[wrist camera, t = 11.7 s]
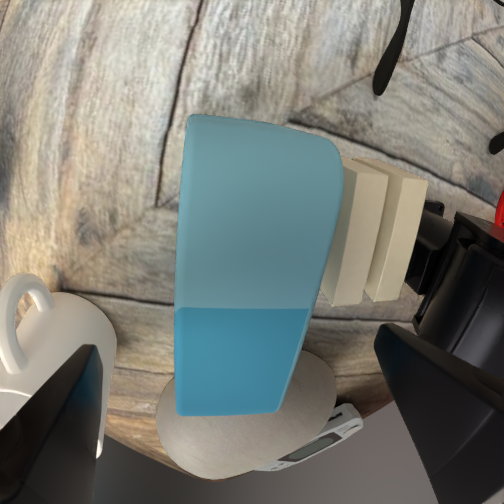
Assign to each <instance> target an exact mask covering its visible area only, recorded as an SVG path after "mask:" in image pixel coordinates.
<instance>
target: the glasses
mask: <svg viewBox="0 0 504 504" xmlns="http://www.w3.org/2000/svg"><path fill="white" fill-rule="evenodd" d="M414 1H415V0H400V2H401V16H400V21H399V24H398V27H397V29H396V31H395V33H394V35H393V37H392V39H391V41H390V43H389V45H388V47H387V49H386V51H385V52H384V54H383V56H382V58H381V60H380V62H379V64H378V66H377V68H376V71H375V74H374V79H373V90H374V94H375V95H377V96H381V95H382V94H383V92H384V91H385V89H386V87H387V85H388V83H389V81H390V78H391V76H392V73H393V71H394V68H395V66H396V63H397V61H398V58H399V55H400V52H401V50H402V46H403V43H404V39H405V36H406V32H407V27H408V23H409V19H410V15H411V12H412V8H413V4H414ZM494 1H495V2H496V3H498V4H499V5H501V6H503V7H504V3H503V2H501V1H500V0H494ZM502 149H504V131H503V132H502V133H500V134H498V135H496V136H495V137H494V138H493V139H492V140H491V142H490V145H489V151H490V153H491V154H493V155H495V154H497V153H498V152H500V151H501V150H502Z"/></svg>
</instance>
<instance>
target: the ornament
mask: <svg viewBox="0 0 504 504" xmlns="http://www.w3.org/2000/svg"><path fill="white" fill-rule="evenodd" d="M501 222H503V225H501ZM495 224H496V225H498V226H500V227H502V228H503V229H504V191H503V193H502V195H501V197H500V200H499V203H498V207H497V211H496V217H495Z"/></svg>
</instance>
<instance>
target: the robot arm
mask: <svg viewBox="0 0 504 504" xmlns="http://www.w3.org/2000/svg"><path fill="white" fill-rule="evenodd" d="M439 207H440V208H439ZM444 208H445V206H444V204H443V203H441V202H439V201H430V200H425V202H424V206H423V211H422V215H421V220H420V224H419V228H418V232H417V236H416V240H415V244H414V247H413V251H412V255H411V258H410V262H409V265H408V269H407V272H406V275H405V279H404V282H405V283H406V284H408V285H409V286H410V287H411V288H412V289H413V290H414V291H415V292H416V293H417V294H418V295H423V296H424V299H423V301H422V303H421V305H420V307H419V309H418V311H417V313H416V314H415V315H414V317H413V319H412V324H413V326H414V328H415V331H416V333H417V335H418V336H417V335H415V334H413V333H411V332H409V331H407V330H405V329H403V328H402V327H400V326H398V325H396V324H394V323H385V324H381V326H380V327H379V330H378V332H377V335H376V338H375V341H374V350H375V353H376V355H377V358H378V361H379V364H380V366H381V369H382V372H383V375H384V377H385V380H386V383H387V385H388V387H389V390H390V392H391V394H392V396H393V398H394V400H395V402H396V404H397V407H398V409H399V411H400V413H401V415H402V417H403V420H404V422H405V424H406V426H407V429H408V431H409V433H410V435H411V437H412V440H413V442H414V444H415V447H416V449H417V451H418V454H419V456H420V458H421V461H422V463H423V465H424V468H425V470H426V473H427V475H428V477H429V479H430V482H431V485H432V488H433V490H434V493H435V495H436V498H437V500H438V503H439V504H482V503H483V502H484V504H504V229H503V228H502V227H500V226H498V225H496V224H494V223H492V222H490V221H487V220H484V219H481V218H478V217H475V216H471V215H468V214H465V213H461V212H458V211H456V214H455V217H454V219H455V221H454V224H453V223H451V222H449V221H448V220H446V219H444V218H443V213H444ZM102 385H103V364H102V361H101V358H100V355H99V351H98V348H97V346H96V345H94V344H83V345H81V346H80V347H79V348H78V349H77V350H76V351H75V352H74V353H73V354H72V355H71V356H70V357H69V358H68V359H67V360H66V361H65V362H64V363H63V364H62V365H61V366H60V367H59V368H58V369H57V370H56V371H55V373H54V374H53V375H52V376H51V377H50V378H49V379H48V380H47V381H46V382H45V383H44V384H43V385H42V386H41V387H40V388H39V389H38V390H37V391H36V392H35V393H34V394H33V396H32V397H31V398H30V399H29V400H28V401H27V402H26V403H25V404H24V405H23V406H22V407H21V408H20V410H19V411H18V412H17V413H16V415H14V416H13V417H12V418H11V419H10V420H9V421H8V423H7V424H6V425H5V426H4V427H3V428H2V429H1V430H0V504H93V492H94V477H95V465H96V455H97V446H98V437H99V429H100V422H101V411H102Z"/></svg>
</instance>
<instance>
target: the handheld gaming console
mask: <svg viewBox="0 0 504 504" xmlns="http://www.w3.org/2000/svg"><path fill="white" fill-rule="evenodd" d="M362 427H363V420H362V418H361V416H360V414H359V412H358V411H357V410H356V409H355V408H354V406H353V405H352V404H349V403H344V404H342V405H340V406H338V407H336V408H334V409H333V411H332V414H331V416H330V418H329V419H328V421H327V423H326V425H325V426H324V427H323V429H322V430H321V431H320V432H319V433H318V435H317V436H316V437H314V438H313V439H312V440H310V441H309V442H308V443H306V444H305V445H303V446H302V447H300V448H298V449H296V450H295V451H293V452H291V453H289V454H287V455H285V456H283V457H281V458H279V459H277V460H275V461H273V462H271V463H269V464H267V465H264V466H262V467H259V468H257V469H254V470H260V471H277V470H280V469H283V468H285V467H288V466H291V465H294V464H297V463H299V462H302V461H304V460H306V459H308V458H310V457H312V456H314V455H316V454H318V453H320V452H322V451H324V450H326V449H328V448H330V447H332V446H334V445H335V444H337V443H339V442H341V441H343V440H344V439H346V438H348V437H349V436H350V435H352V434H353V433H354V432H356V431H358V430H359V429H361V428H362Z"/></svg>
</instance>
